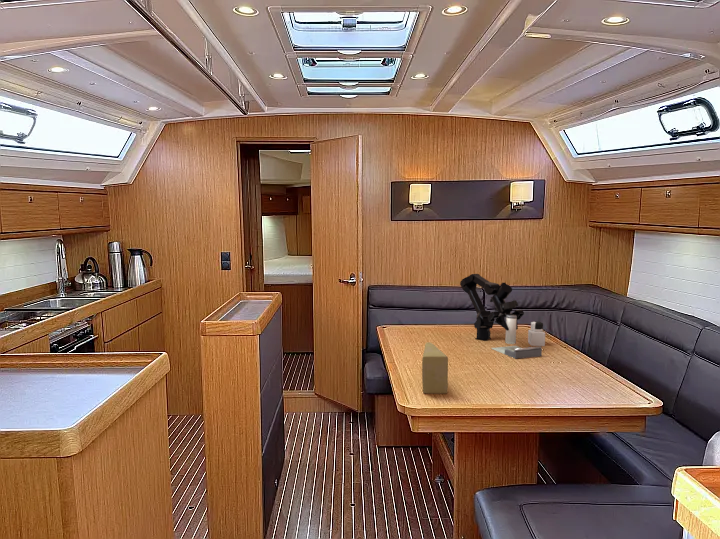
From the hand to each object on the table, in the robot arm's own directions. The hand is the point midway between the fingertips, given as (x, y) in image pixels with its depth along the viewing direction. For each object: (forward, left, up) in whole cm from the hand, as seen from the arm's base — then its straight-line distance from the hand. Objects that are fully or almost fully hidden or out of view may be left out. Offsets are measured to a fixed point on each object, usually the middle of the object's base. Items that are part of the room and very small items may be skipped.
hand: (512, 329), depth 245 cm
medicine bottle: (+5, +21, -11) cm, 24 cm away
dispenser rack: (+7, -4, -11) cm, 13 cm away
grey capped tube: (-1, +1, -7) cm, 7 cm away
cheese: (-5, -69, -11) cm, 71 cm away
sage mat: (-1, +1, -11) cm, 11 cm away
